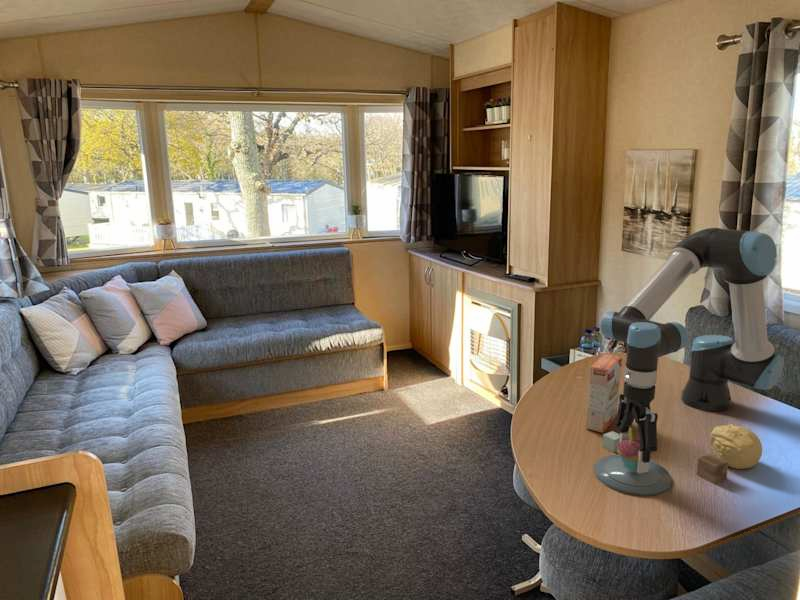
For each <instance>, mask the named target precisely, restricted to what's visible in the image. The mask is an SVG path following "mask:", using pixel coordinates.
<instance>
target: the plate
mask: <svg viewBox="0 0 800 600" xmlns="http://www.w3.org/2000/svg"><path fill="white" fill-rule="evenodd" d="M593 471H594V475H595V477H596V478H597V479H598V481H600V482H601V483H602V484H604V485H605V486H606V487H608V488H610V489H612V490H614V491H618V492H620V493H623V494H627V495H631V496H632V495H633V496H641V497H642V496H643V497H644V496H645V497H650V496H656V495H660V494H663V493H665V492H666V491H668V490H669V489H670V487H671V485H672V476H671V475H670V473H669V471H668V470H667V469H666V468H665V467H664V466H662V465H661V464H659V463H657V462H655V461H653V460H651V459H650V461H649V468H648V472H643V473H638V472H637V470H630V469H627V468H626V467H624V465H623V461H622V458H621V456H619V454H618V453H617V454H609V455H605V456H603V457H600V458H598V459H597V461H596V462H595V463H594V470H593Z"/></svg>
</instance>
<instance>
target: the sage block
mask: <svg viewBox="0 0 800 600" xmlns="http://www.w3.org/2000/svg"><path fill="white" fill-rule="evenodd" d="M619 439H620V433H618V432H616V431H609V432H606V433H602V445H601V446H602V448H604V449H606V450H608V451H610V452H612V453H615V452H616V453H617V445H618V444H619V443H620V440H619Z"/></svg>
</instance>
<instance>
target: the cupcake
mask: <svg viewBox="0 0 800 600" xmlns="http://www.w3.org/2000/svg"><path fill="white" fill-rule="evenodd" d="M628 432H629V436H630V439H626V440H623V441H621V442H620V443H619V444H618V445H617V451H616V453H617V454H619V455H620V456H621V458H622V461H623V465H624V467H626V468H627V469H630V470H637V465H638V454H639V449H641V443H640V439H637V438H633V429H632V426H631V427H630V428H629V431H628ZM645 446H646V445H645ZM651 457H652V452H651V453H650V458H651Z"/></svg>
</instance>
